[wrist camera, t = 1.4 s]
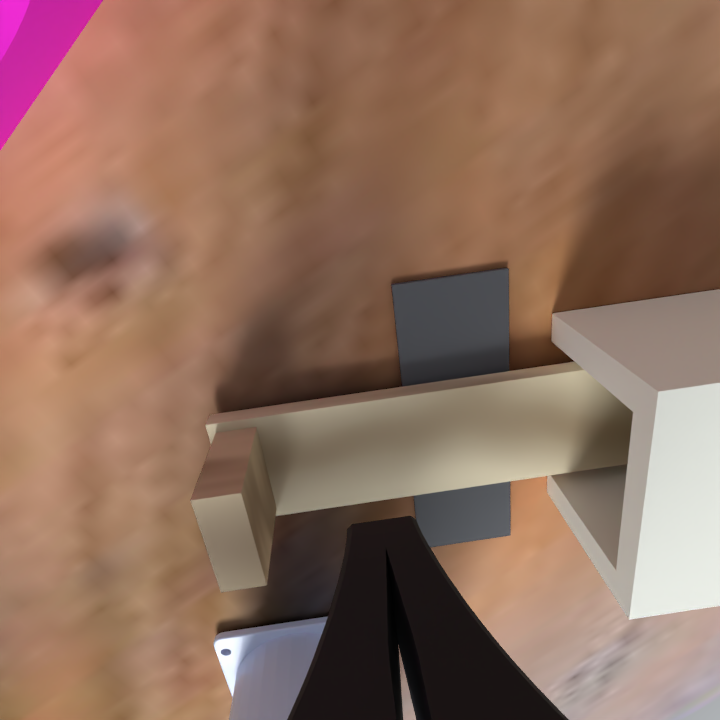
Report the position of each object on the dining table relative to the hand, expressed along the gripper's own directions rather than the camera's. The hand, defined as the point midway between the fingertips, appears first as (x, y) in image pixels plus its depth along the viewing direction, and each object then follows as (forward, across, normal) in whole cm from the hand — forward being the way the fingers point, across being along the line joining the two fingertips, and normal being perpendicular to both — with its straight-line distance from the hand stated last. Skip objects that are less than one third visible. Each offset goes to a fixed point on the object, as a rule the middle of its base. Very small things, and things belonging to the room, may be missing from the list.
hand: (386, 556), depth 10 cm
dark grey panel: (+10, -4, +4) cm, 12 cm away
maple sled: (+10, -12, +4) cm, 16 cm away
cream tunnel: (+10, -12, +4) cm, 16 cm away
